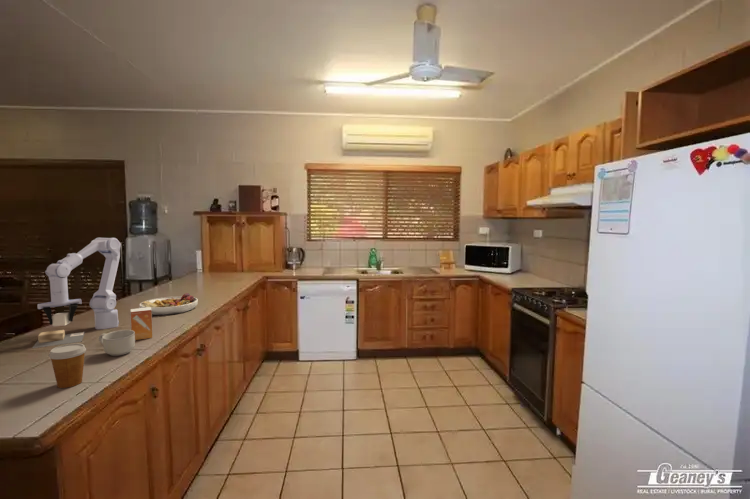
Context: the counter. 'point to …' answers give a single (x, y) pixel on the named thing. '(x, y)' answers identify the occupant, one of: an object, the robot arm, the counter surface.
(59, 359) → the disposable coffee cup
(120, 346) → the teacup
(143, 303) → the bowl
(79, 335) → the board
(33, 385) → the counter surface
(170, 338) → the counter surface
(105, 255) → the robot arm
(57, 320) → the cream cube
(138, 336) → the small box
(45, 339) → the oak base brick
